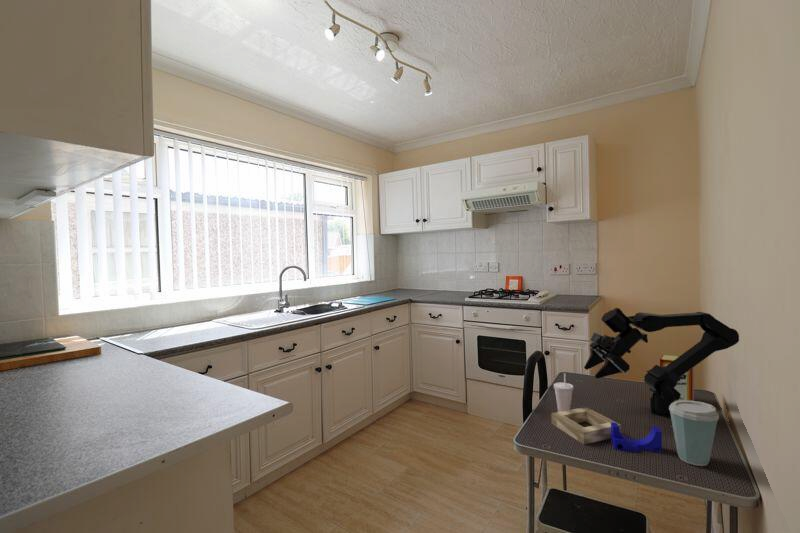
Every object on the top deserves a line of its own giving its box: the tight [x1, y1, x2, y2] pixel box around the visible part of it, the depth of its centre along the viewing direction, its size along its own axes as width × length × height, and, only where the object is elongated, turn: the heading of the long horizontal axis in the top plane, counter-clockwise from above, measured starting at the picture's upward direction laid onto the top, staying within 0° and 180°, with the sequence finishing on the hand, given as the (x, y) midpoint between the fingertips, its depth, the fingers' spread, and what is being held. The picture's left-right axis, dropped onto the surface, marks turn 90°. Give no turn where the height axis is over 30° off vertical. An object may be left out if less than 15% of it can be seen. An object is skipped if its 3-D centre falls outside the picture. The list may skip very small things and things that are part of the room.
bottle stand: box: [550, 406, 622, 445], centre depth 119 cm, size 14×14×4 cm
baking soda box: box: [659, 354, 695, 401], centre depth 138 cm, size 10×6×16 cm
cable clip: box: [610, 422, 663, 453], centre depth 107 cm, size 12×4×6 cm, turn 72°
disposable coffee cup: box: [669, 400, 720, 467], centre depth 101 cm, size 11×11×15 cm
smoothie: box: [553, 372, 574, 412], centre depth 132 cm, size 6×6×14 cm
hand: (590, 373), depth 131 cm, fingers open, 9 cm apart
